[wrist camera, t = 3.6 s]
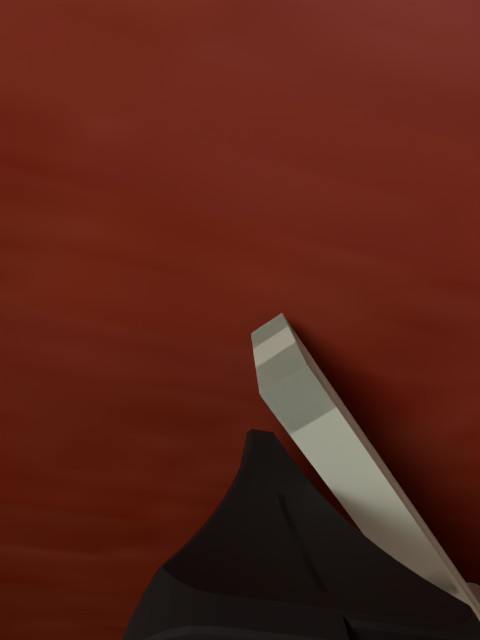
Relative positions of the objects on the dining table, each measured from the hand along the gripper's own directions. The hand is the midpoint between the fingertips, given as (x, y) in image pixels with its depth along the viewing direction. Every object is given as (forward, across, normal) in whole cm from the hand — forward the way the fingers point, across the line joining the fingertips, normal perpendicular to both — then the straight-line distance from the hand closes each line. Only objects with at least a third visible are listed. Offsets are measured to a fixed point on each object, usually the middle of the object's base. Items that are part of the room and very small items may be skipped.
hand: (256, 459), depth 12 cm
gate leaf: (+2, -5, +1) cm, 5 cm away
